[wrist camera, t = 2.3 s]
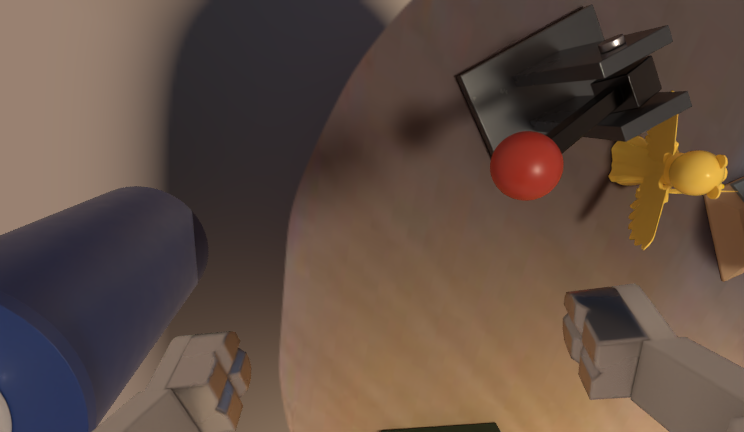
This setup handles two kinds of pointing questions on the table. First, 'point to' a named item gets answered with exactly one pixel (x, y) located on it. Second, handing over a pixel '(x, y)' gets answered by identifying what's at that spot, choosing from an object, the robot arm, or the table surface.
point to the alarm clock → (728, 228)
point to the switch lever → (568, 133)
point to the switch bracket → (563, 81)
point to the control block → (454, 428)
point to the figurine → (663, 175)
